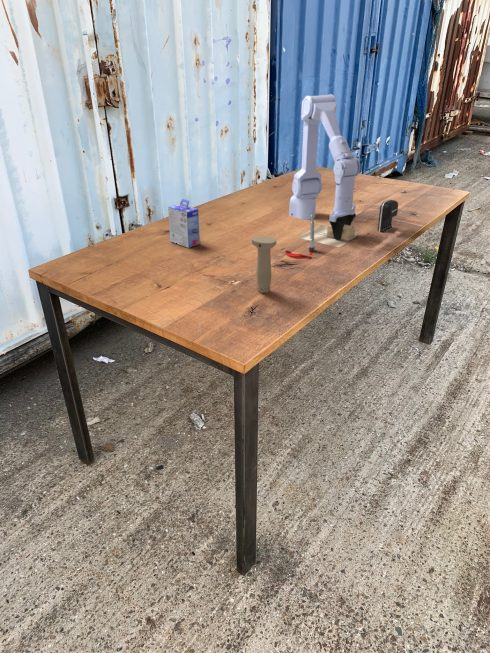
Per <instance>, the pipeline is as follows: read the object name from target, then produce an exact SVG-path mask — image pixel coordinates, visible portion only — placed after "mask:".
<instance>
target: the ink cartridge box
mask: <svg viewBox="0 0 490 653" xmlns="http://www.w3.org/2000/svg"><path fill="white" fill-rule="evenodd" d="M184 203H185V204H184ZM189 204H190V200H188V199H184V198H182V199H181V201H180V203H179V204H174V205H171V206H168V207H167V210H168V211H167V212H168V224H169V226H168V227H169V240H170V241H169V242H171V243H174V244H176V243H177V245H179V246H182V247H186V248H187V249H189V248H192V246H193V247H195V245H196V246H199V245H200V244H201V239H200V236H201V235H200V221H199V218H200V217H199V209H198V208H196V207H193V206H192V207H191V206H189ZM198 244H199V245H198Z"/></svg>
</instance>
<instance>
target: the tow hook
mask: <svg viewBox="0 0 490 653" xmlns="http://www.w3.org/2000/svg"><path fill="white" fill-rule="evenodd" d="M314 219H315V218H314V216H313V215H311V219H310V223H309V226H310V241H309V248H308V249H309V250H308V252H309V254H308V255H309V256H308V255H305V254H301V253H299V254H297V253H292V251H289V250H285V255H286V256H287V257H289V258H293V259H302V258H303V259H304V258H308V259H313V257H312V256H313V253H315V251H316V244H315V243H316V242H315V239H314V228H315V220H314Z"/></svg>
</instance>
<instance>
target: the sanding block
mask: <svg viewBox="0 0 490 653" xmlns="http://www.w3.org/2000/svg"><path fill="white" fill-rule="evenodd" d="M327 226H328V228H327V237H328V238H332V239H334V236H333V230H332V227H331V224H330V223H329V225H327ZM355 232H356V226H354V225H351V226H350V225H344V227H343V230H342V235H341V239H340V240H341V241H345V242H347V243H350V242H351V241H352V240H354V239H355V238H356V237H355ZM336 240H338V239H336Z"/></svg>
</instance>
